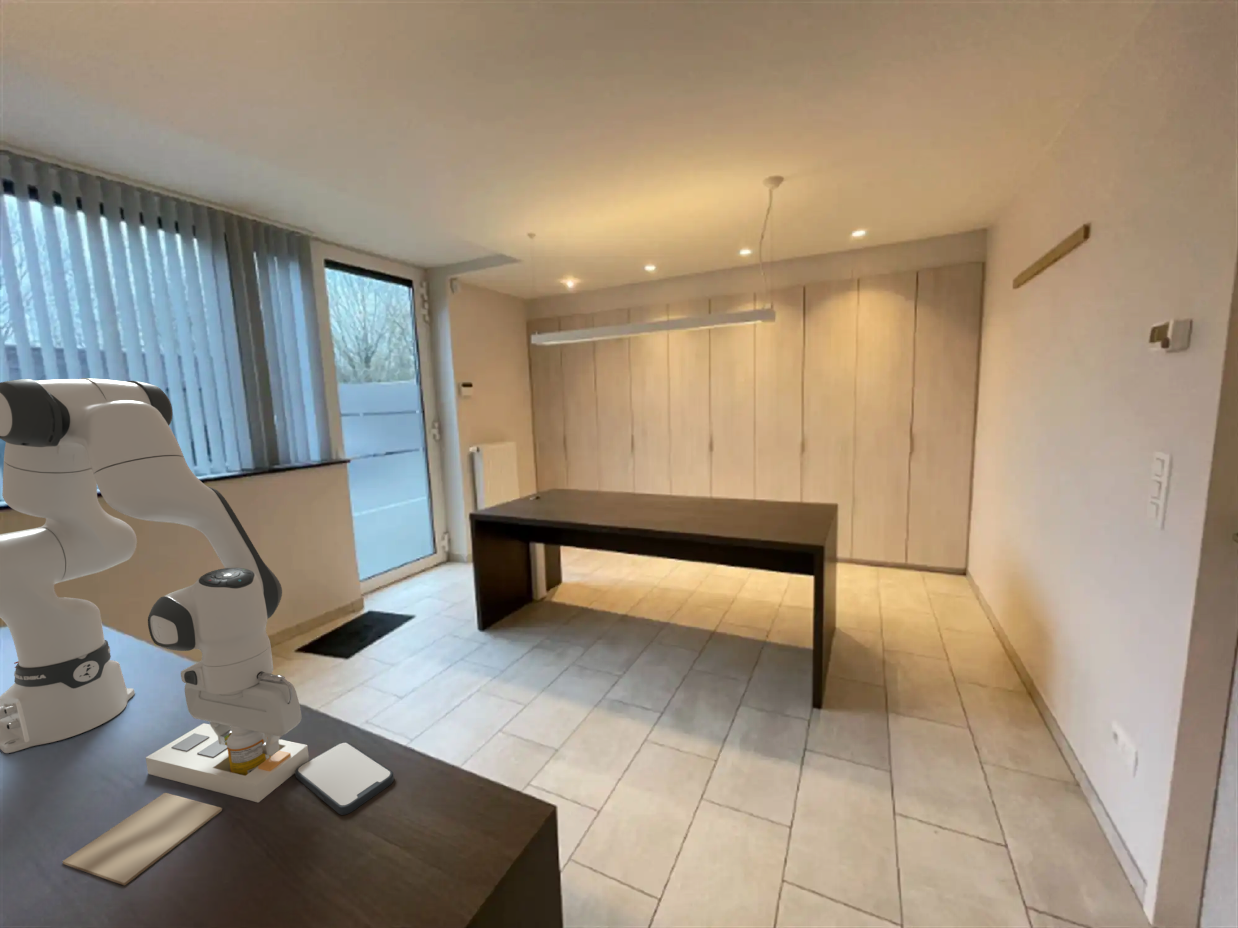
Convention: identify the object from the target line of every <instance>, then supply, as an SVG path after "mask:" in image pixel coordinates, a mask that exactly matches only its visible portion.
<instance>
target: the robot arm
mask: <svg viewBox="0 0 1238 928" xmlns="http://www.w3.org/2000/svg"><path fill="white" fill-rule="evenodd" d="M172 420H173V407H172V403H171V400H170V399H169V397H168V396H167V394H166V393H165V392H164V390H162V389H161V388H159V386H157V385H155V384H151V383H149V382H148V383H147V382H143V381H142V382H141V381H139V380H127V381H123V380H115V379H114V380H113V379H107V378H106V379H103V378H89V377H88V378H86V377H82V378H79V379H78V378H63V379H61V378H60V379H59V378H58V379H57V378H56V379H55V378H54V379H39V380H34V379H31V378H23V379H21V378H20V379H13V380H5V381H2V382H0V440H1V441H4V442H5V444H4V445H5V446H4V452H3V453H4V454H3V468H2V469H3V471H2V472H3V473H2V494H1V495H2V499H3V500H4V502H5V503H6V504H7V506H8V507H10V508H11V509H12V510H14V511H16V512H19V513H20V514H24V515H28V516H31V517H35V518H36V517H37V518H43V519H45V522H44V524H43V525H42V526H38V527H35V528H29V529H24V530H18V531H12V532H6V533H0V619H1V620H2V621H3V622H4V623H5V625H6V626H7V628H8V630H9V632H10V635H11V638H12V640H13V645H14V649H15V652H16V656H17V661H15V662H14V663H13V664H14V665H15V666H14V668H15V669H14V673H13V676H14V683H13V684H12V685H11V686H10V687H9V688H7V690H6V691H5V692H3V693H2V694H1V695H0V750H1V752H3V753H5V754H9V753H14V752H15V753H16V752H19V751H22V750H24V749H28V748H31V747H34V746H39V745H45V744H49V743H54V742H57V741H62V740H65V739H68V738H71V737H74V736H77V735H80V734H82V733H85V732H88V731H90V730H92V729H94V728H97V727H99V726H101V725H102V724H105V723H107V722H109V721H110V720H112V719H113V718H115V717H116V716H118V715H119V714H120V713H121V712H122V711H123V710H124V709H125V708H126V707H127V705H128V701H129V700H130V699H131V698H132V697H133V696H135V694H136V692H135V688H133V687H131V688H128V687H127V686H126V682H125V678H124V675H123V671H122V667H121V665H120V663H119V661H116V660H113V659H112V655H111V648H110V645H109V642H108V640H107V639H105V635H104V634H105V633H104V628H103V623H102V622H103V621H102V615H101V611H100V608H99V607H98V606H97V605H96V604H95V603H94V602H92V601H90V600H87V599H82V598H75V597H65V596H63V597H61V596H60V597H59V596H58V595H57V593H56V590H55V585H56V584H58V583H63V582H67V581H71V580H75V579H79V578H82V577H85V576H89V575H93V574H98V573H100V572H104V571H106V570H108V569H111V568H113V567H115V566H118V565H120V564H122V563H124V562H128V561H129V560H130V559H131V558H132V556H133V555H134V554H135V552H136V549H137V545H138V539H137V535H136V532H135V530H134V529H133V528H132V526H131V525H130V524H128V523H127V522H126V521H124V520H122V519H121V518H118V517H115V516H113V515H111V514H109V513H107V511H106V510H104V509H103V507H102V505H101V504H100V501H99V499H98V490H99V492H100V494H101V496H102V498H103V499H104V501H105V503H106V504H107V505H108V506H109V507H110V508H112V509H113V510H115V511H116V512H118V513H120V514H122V515H125V516H127V517H131V518H133V519H138V520H143V521H149V522H160V523H169V524H179V525H181V526H186V527H190V528H193V529H195V530H197V531H199V532H200V533H202V534H203V535H204V536H205V538H206V539H207V540H208V542H209V544H210V546H211V547H212V548H213V550H214V552H215V553H216V556H217V558H218V559H219V561H220V562H221V564H222V565H223V567H224V568H220V569H214V570H212V571H208V572H207V573H204V574H202V575H201V576H200V577H198V578H197V580H196V581H195V582H194V583H193V584H191V585H189V586H186V587H184V588H180V589H177V590H175V591H173V592H170V593H167V594H165V595H163V596H161V597H159V598H158V599H157V600H156V601H155V603H154V604H153V605H152V607H151V610H150V611H149V614H148V617H147V625H148V626H147V627H148V631H149V636H150V638H151V640H152V642H153V643H154V644H155V645H156V646H159V647H161V648H164V649H167V650H170V651H178V652H187V651H188V652H190V651H193V650H199V651H200V652H201V660H200V661H198V662H196V663H194V664H192V665H190V666H188V667H186V668H185V669H183V670H181V671H180V679H181V681H182V683H183V684H184V695H185V701H186V702H185V703H186V707H187V711H188V713H189V714H190V715H191V717H192V718H193V719H196V720H200V721H206V722H209V724H210V726H211V727H212V729H213V730H214V732H215V733H216V735H218V742H219V744H222V745H227V740H228V738H229V736H230V735H231V734H232V733H231V725H232V726H237V727H240V728H243V729H247V730H252V731H257V732H262V733H264V735H265V737H268V739H267V742H265V743H264V744H262V745H261V746H262V750H263V751H262V753H263V754H266V755H272V754H274V753H275V752H277V751H278V749H279V739H280V738H281V737H282V736H285V735H286V734H288V733H289V732H291V731H292V730H293V729H295V728H296V727H297V726H299V724H300V722H301V721H302V717H303V716H302V711H301V706H300V701H299V697H298V693H297V691H296V688H295V685H293V684H292V683H291V682H290V681H288V680H287V679H286V677H285V676H283V675H281V674H273V671H274V665H273V664H274V662H273V654H272V646H271V640H270V638H269V636H268V633H267V623H268V620H269V619H270V618H271V617H272V616H273V615H274V613H275V612H276V610H277V609H278V607H279V605H280V603H281V600H282V596H283V588H282V585H281V582H280V580H279V579H278V577H277V576H276V575H275V573H274V572H273V571H272V570H271V569H270V567H269V566H268V565H267V564H266V563H265V561H264V560H263V558H261V556H260V554H259V552H258V551H257V549H256V547H255V545H254V544H253V542H252V540H251V538H250V537H249V535H248V533H247V531H246V530H245V529H244V527H243V525H242V523H241V522H240V520H239V518H238V516H237V515H236V513H235V511H234V510H233V509H232V507H231V505H230V504H229V502H228V501H227V499H226V498H225V497H224V495H223V494H222V493H221V492H220V491H219V490H218V489H216V488H213V487H210V486H208V485H206V484H205V483H203V482H202V481H201V480H200V479H199V478H198V477H197V476H196V474H194V473H193V471H192V470H191V468H190V467H189V466H188V464H187V461H186V459H185V456H184V454H183V451H182V448H181V447H180V444H179V442H178V440H177V438H176V436H175V434H174V433H173V430H172V429H171V427H170V425H171V423H172ZM111 659H112V660H111Z"/></svg>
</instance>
